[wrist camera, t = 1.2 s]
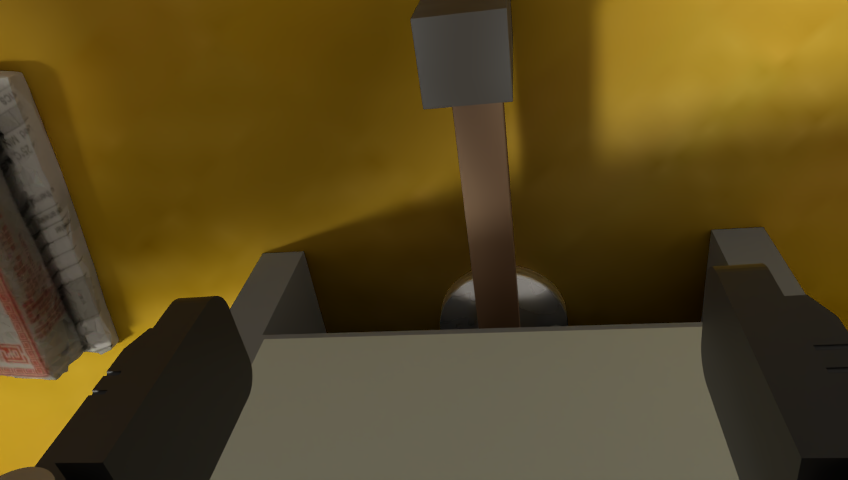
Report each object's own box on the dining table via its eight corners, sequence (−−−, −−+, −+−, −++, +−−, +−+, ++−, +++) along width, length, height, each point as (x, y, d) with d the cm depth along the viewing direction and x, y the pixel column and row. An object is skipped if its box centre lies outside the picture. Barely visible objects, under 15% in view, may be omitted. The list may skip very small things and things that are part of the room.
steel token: (449, 358, 39) (447, 376, 38) (434, 264, 35) (432, 280, 34) (567, 356, 38) (569, 374, 36) (565, 257, 34) (566, 274, 33)
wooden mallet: (422, 394, 40) (405, 507, 34) (343, -18, 28) (289, 32, 21) (602, 392, 39) (621, 511, 32) (608, -52, 26) (643, -8, 19)
